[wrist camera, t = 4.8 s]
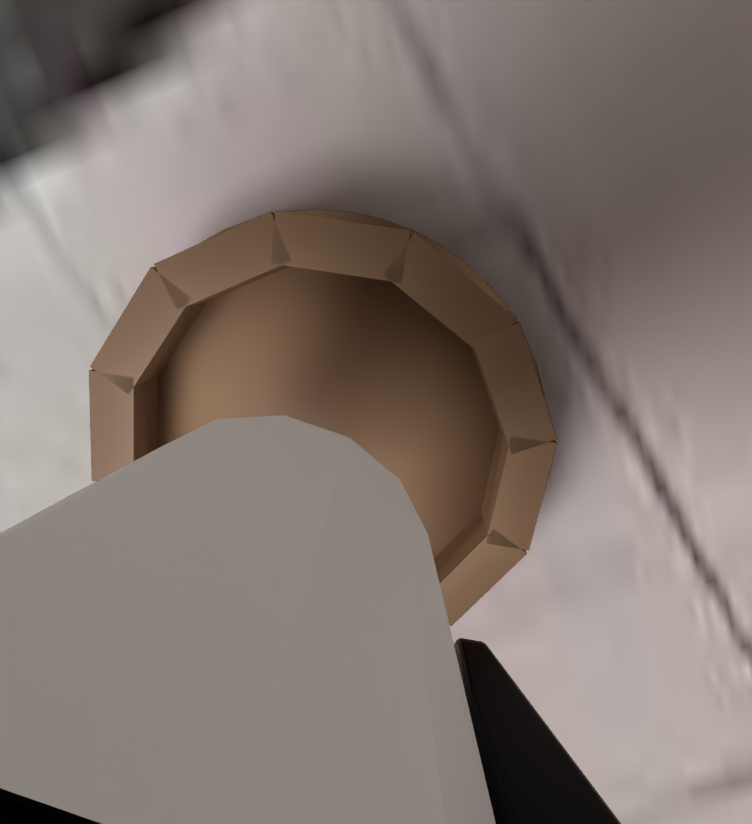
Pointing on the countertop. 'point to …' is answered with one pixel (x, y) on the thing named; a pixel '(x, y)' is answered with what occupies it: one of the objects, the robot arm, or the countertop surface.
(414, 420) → the round wooden tray
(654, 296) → the countertop surface
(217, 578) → the white canister
